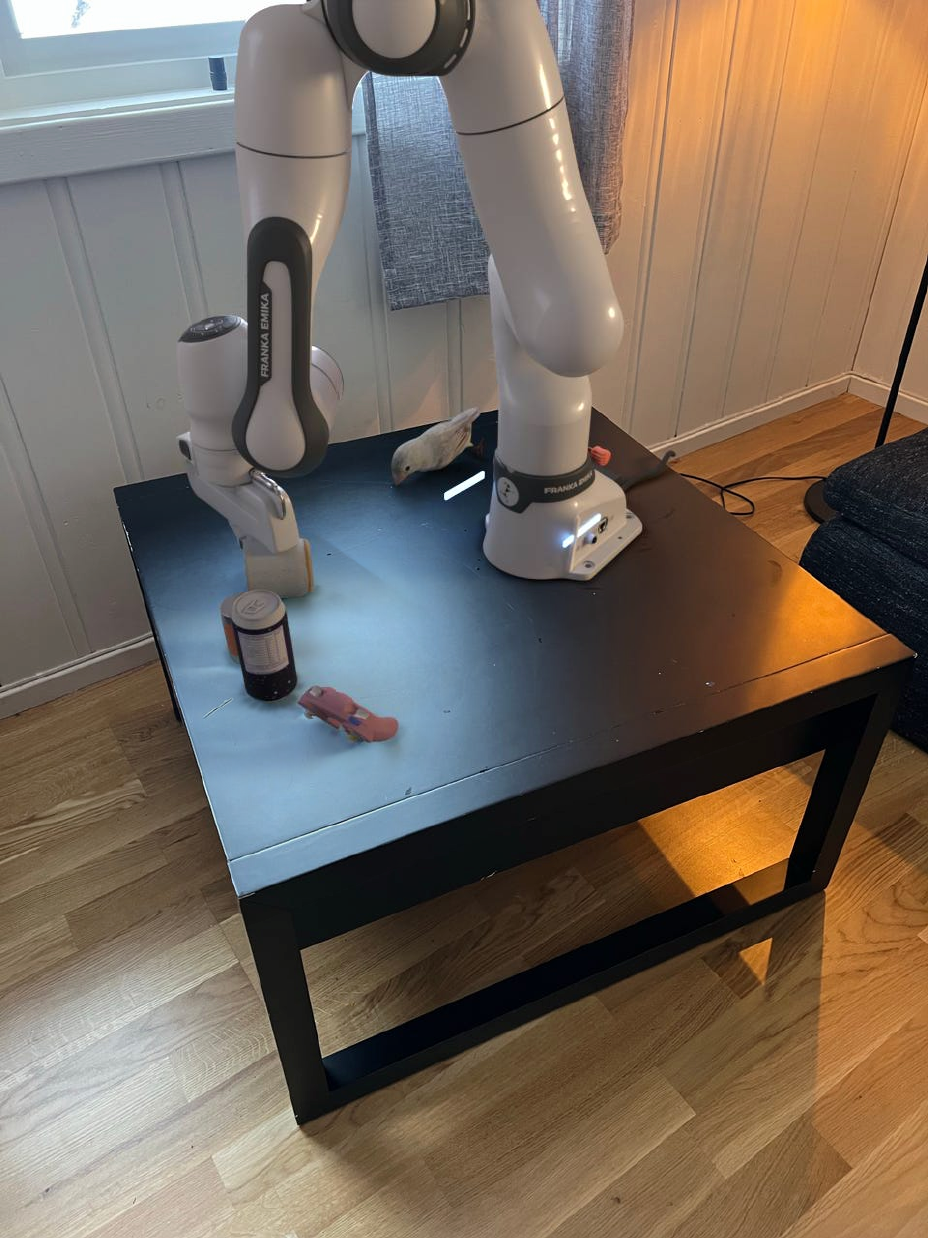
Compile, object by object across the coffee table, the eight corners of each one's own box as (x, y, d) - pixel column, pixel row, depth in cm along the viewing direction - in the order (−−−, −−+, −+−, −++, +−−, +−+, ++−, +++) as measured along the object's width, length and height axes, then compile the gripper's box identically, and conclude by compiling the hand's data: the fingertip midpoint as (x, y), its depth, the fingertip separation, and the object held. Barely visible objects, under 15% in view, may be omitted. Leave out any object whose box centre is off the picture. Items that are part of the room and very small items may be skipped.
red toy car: (310, 726, 100) (283, 701, 94) (333, 690, 102) (307, 663, 96) (383, 764, 96) (359, 740, 90) (405, 726, 98) (384, 700, 92)
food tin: (256, 634, 110) (247, 586, 106) (278, 653, 107) (270, 605, 103) (221, 651, 108) (211, 604, 103) (243, 672, 105) (233, 624, 101)
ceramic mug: (318, 605, 114) (311, 553, 110) (250, 615, 113) (241, 562, 108) (309, 558, 122) (303, 507, 118) (246, 566, 121) (237, 515, 116)
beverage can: (308, 683, 103) (296, 597, 96) (275, 714, 100) (260, 627, 92) (269, 666, 106) (253, 581, 98) (235, 695, 102) (216, 609, 94)
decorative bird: (383, 479, 138) (380, 433, 133) (466, 445, 146) (466, 400, 141) (405, 493, 135) (403, 447, 130) (489, 458, 143) (489, 413, 138)
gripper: (304, 478, 107) (317, 575, 115) (213, 417, 118) (231, 510, 127) (257, 498, 103) (273, 596, 112) (168, 433, 115) (189, 527, 124)
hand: (250, 550), depth 120 cm, fingers closed
